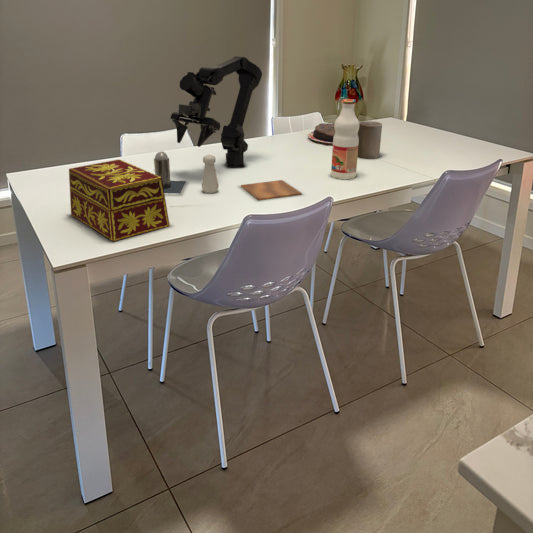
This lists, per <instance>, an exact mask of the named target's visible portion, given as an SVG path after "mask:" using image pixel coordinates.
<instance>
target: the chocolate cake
mask: <svg viewBox="0 0 533 533" xmlns="http://www.w3.org/2000/svg"><path fill="white" fill-rule="evenodd" d="M334 124H335V122H334V123H332V122H331V123H330V122H327V123H319V124H318V125H315V127H314V130H313V131H311V132H309V133H308V134H307V137H308V138H309V139H310V140H311V141H312V143H318V144H324V145H326V146H333V137H334V135H335V128H334Z"/></svg>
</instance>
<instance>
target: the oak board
mask: <svg viewBox="0 0 533 533" xmlns="http://www.w3.org/2000/svg"><path fill="white" fill-rule="evenodd" d="M240 187H241V188H242V189H243V190H245V191H246V192H247V193H249V194H250V195H251V196H252V197H254V198H255V199H256V200H257V201H265V200H271V199H279V198H286V197H293V196H294V197H295V196H300V195H302V192H301V191H300V190H298V189H296V188H295V187H293V186H292V185H290V184H289V183H287V182H286V181H284V180H282V179H281V180H280V179H279V180H272V181H271V180H270V181H264V182H256V183H255V182H254V183H247V184H240Z"/></svg>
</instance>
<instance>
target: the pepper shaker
mask: <svg viewBox="0 0 533 533" xmlns="http://www.w3.org/2000/svg"><path fill="white" fill-rule="evenodd" d="M170 165H171V164H170V157H169V156H168V154H167V153H166V152H165V151H158V152H157V153H155V156H154V158H153V166H154V168H153V169H154V174H155V175H157V176H160V177H161V178H162V182H163V188H164V189H167V188H170V187H171V181H172V180H171V166H170Z"/></svg>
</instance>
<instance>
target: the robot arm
mask: <svg viewBox="0 0 533 533" xmlns="http://www.w3.org/2000/svg"><path fill="white" fill-rule="evenodd" d="M233 73H236V74H237V75H238V78H237V80H238V84H239V90H238V92H237V97H236V101H235V104H234V108H233V111H232V116H231V118H230V122H229V123H228V125H223V127H222V131H221V134H220V142H221V146H222V149H223V150H225V151H226V153H225V165H226V166H227V168H244V167H245V161H244V156H245V155H244V154H245V153H246V152H247V151H248V149H249V144H248V143H247V141H246V140H245V131H244V128H243V126H244V123H245V119H246V115H247V112H248V108H249V105H250V102H251V98H252V95H253V91H254V90H255V89H256V88H258V86H259V84H260V83H261V80H262V76H263V72H262V70H261V68H260V67H259V66H258V65H256V64H255V63H254V62H252V61H250V60H249V59H248V58H247V57H245V56H241V55H240V56H239V55H236V56H233V57H232V58H229V59H228V60H226V61H225V60H224V61H223V62H221V63H218V64H217V65H208V66H202V67H200V68H199V69H198V71H197V72H196V73H194V72H193V71H187V74H186V75H184V76H182V78H181V79H180V81H179V88H180V90H181V91H183V92H184V93H186V94H188V95H189V96H190V97H192V98H193V100H191V101H189V103H188V104H182V103H181V104H178V111H177V112H175V111H174V112H172V113H171V115H170V118H169V120H171V121H172V123H173V124H174V125H175V128H176V142H177V143H178V144H181V142H182V140H183V138H184V136H185V134H186V132H187V130H188V128H189V126H188V125H189V124H194V125H200V132H199V136H198V139H197V144H196V146H197V147H198V148H200V147H201V146H202V145H203V144H204V143H205V142H206V141H207V140H208V139H210V137H211V136H212V135H214V134H216V133H217V132H220V129H221V123H220V121H218V120H217V119H215V118H213V117H209V116H207V112H209V113H210V111H211V108H209V106H210V103H211V100H212V96H217V92H216V90H215V87H213V86H217V85H219V84H220V83H221V82H222V81H223V79H224V78H225V77H227V76H229V75H231V74H233Z"/></svg>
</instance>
